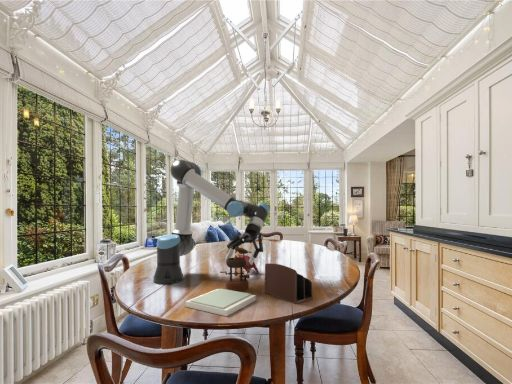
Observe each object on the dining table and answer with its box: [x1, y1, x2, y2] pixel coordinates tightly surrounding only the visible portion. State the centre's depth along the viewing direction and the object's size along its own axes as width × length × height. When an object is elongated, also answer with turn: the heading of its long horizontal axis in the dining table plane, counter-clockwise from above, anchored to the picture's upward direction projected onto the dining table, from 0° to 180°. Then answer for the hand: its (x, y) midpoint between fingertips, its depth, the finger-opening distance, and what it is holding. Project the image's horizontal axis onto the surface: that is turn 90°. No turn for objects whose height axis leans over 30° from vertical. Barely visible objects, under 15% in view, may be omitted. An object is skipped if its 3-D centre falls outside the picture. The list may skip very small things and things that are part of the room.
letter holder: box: [263, 262, 313, 305], centre depth 128 cm, size 10×20×14 cm, turn 38°
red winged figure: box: [237, 253, 260, 274], centre depth 171 cm, size 28×9×15 cm
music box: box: [219, 246, 253, 292], centre depth 140 cm, size 15×11×20 cm
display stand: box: [184, 288, 257, 317], centre depth 119 cm, size 20×20×2 cm
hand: (238, 261), depth 140 cm, fingers open, 13 cm apart
